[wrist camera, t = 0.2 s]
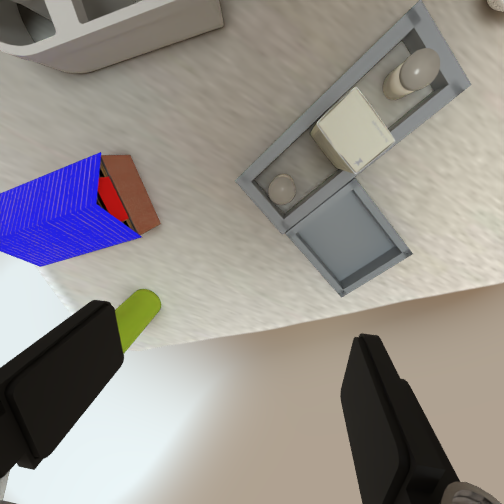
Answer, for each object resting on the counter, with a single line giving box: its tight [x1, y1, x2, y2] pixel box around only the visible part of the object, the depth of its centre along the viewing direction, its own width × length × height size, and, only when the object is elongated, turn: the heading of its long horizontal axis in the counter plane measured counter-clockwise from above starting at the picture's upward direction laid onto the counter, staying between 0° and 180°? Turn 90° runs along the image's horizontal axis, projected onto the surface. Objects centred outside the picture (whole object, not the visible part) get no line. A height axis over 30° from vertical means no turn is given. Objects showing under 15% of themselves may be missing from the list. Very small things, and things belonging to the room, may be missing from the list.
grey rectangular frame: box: [235, 0, 471, 234], centre depth 32 cm, size 27×10×3 cm, turn 132°
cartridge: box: [383, 48, 440, 100], centre depth 27 cm, size 3×3×6 cm
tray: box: [285, 178, 413, 297], centre depth 36 cm, size 12×14×3 cm
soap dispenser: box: [115, 289, 161, 354], centre depth 39 cm, size 6×7×20 cm
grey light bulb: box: [268, 174, 296, 205], centre depth 33 cm, size 3×3×6 cm
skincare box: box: [310, 87, 395, 174], centre depth 27 cm, size 6×4×12 cm
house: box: [0, 152, 161, 267], centre depth 37 cm, size 12×20×12 cm, turn 107°
